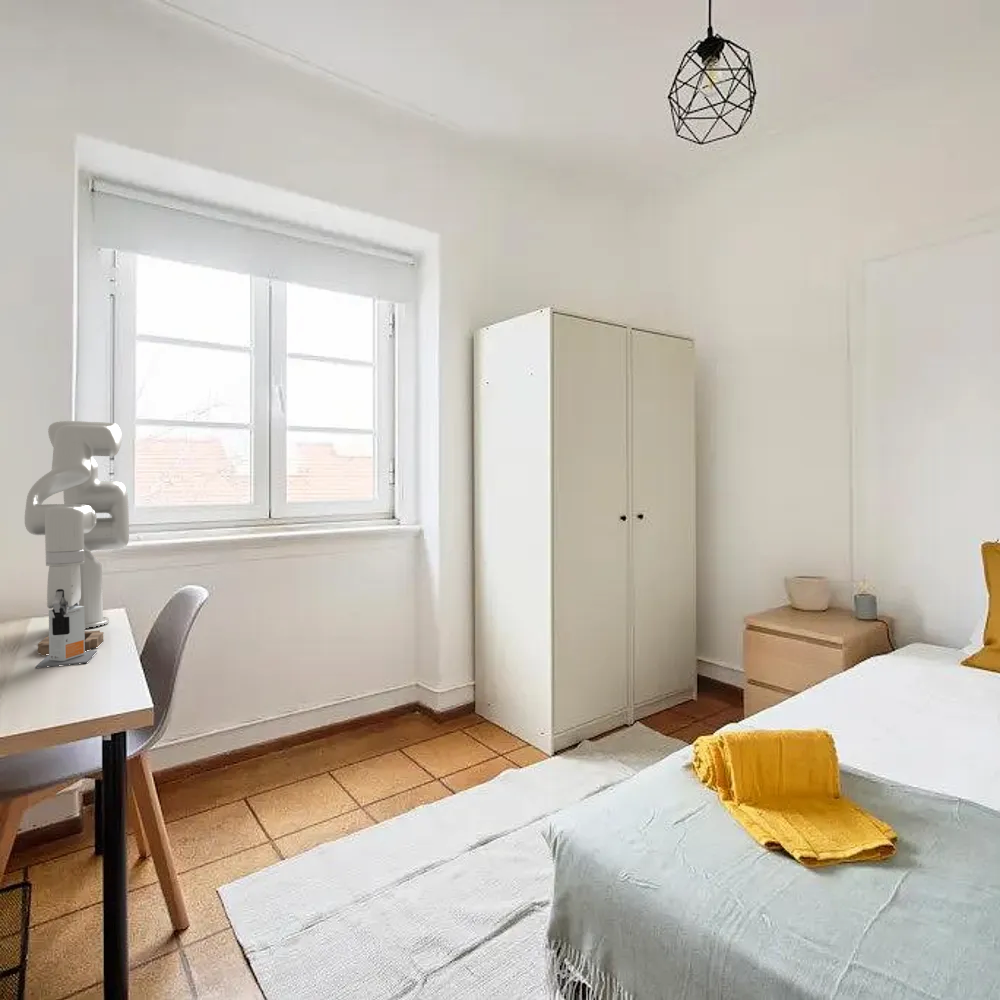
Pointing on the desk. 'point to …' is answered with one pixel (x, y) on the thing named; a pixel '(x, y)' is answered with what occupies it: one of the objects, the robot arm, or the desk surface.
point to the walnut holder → (91, 641)
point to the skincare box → (68, 637)
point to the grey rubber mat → (76, 660)
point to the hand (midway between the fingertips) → (66, 629)
